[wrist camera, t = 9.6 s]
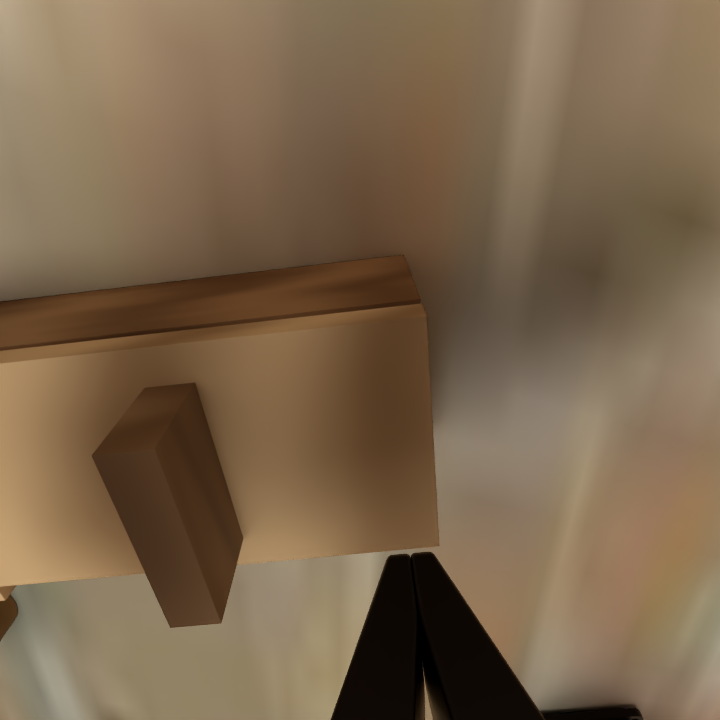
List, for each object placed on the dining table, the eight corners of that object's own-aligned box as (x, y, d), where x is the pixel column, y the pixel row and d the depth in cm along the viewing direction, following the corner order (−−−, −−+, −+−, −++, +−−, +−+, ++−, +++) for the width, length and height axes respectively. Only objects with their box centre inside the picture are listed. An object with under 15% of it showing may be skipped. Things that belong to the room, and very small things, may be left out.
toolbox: (403, 254, 15) (420, 299, 11) (421, 493, 19) (437, 581, 16) (-250, 330, 16) (-436, 395, 12) (-91, 542, 20) (-191, 638, 17)
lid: (422, 303, 11) (447, 370, 8) (436, 539, 14) (456, 646, 11) (-261, 380, 12) (-469, 467, 9) (-94, 588, 15) (-203, 701, 12)
